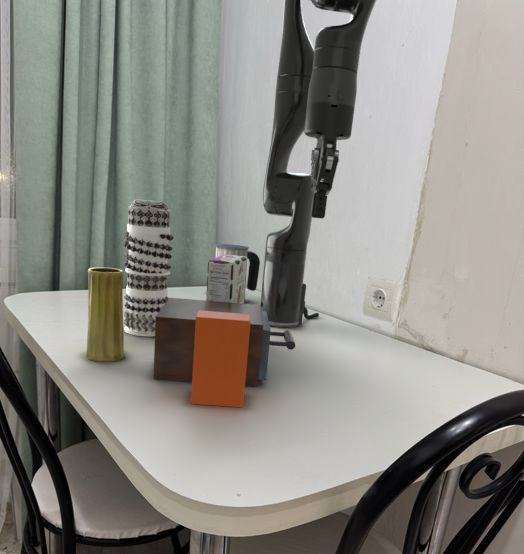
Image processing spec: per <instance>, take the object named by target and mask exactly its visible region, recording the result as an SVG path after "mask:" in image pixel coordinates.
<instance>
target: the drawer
mask: <svg viewBox="0 0 524 554" xmlns="http://www.w3.org/2000/svg"><path fill="white" fill-rule="evenodd" d="M261 314H262V320H263V335H262V345H261V356H260V366H259V377H258V381H259V380H260V381H266V380H267V374H268V373H267V372H268V363H269V353H270V346H272V347H285V348H286V349H287V350H289V351H291V350H294V349H295V348H296V342H295V340H294V337H293V334H292V332H291V331H290V330H288V329H285V330H284V331H283V332H281V331H272V330H271V326H270V325H269V321H268V316H267V312H266V311H261ZM271 336H272V337H283V340H284V341H277V340H271Z"/></svg>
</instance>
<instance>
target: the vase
mask: <svg viewBox="0 0 524 554" xmlns="http://www.w3.org/2000/svg"><path fill="white" fill-rule="evenodd" d="M87 274H88V277H87V279H88V283H87V301H88V302H87V337H86V339H87V340H86V342H87V343H86V352H85V357H86V358H87V359H88V360H90V361H94V362H100V363H101V362H102V363H109V362H116V361H120V360H122V359H124V358H125V357H126V356H125V355H126V354H125V346H124V345H125V335H124V333H125V331H124V300H123V299H124V298H123V296H124V295H123V290H124V289H123V287H124V286H123V285H124V271H123V270H122V269H121V268H115V267H90V268H88V270H87Z"/></svg>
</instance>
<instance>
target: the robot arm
mask: <svg viewBox="0 0 524 554" xmlns="http://www.w3.org/2000/svg"><path fill="white" fill-rule="evenodd" d="M309 1H311V3H312V5H313V6H314V8H316V9H319V10H323V11H327V12H328V11H329V12H335V13H342V14H350V15H351V16H350V19H349V21H348V22H346V23H343V24H336V25H329V26H325V27H322V28H321V29H320V30H319V31H318V32H317V34H316V36H315V41H314V47H313V43H312V42H311V40H310V37H309V35H308V32H307V29H306V28H307V27H306V25H305V22H304V16H303V10H302V0H283V19H282V20H283V21H282V35H281V44H280V51H279V52H280V54H279V61H278V68H277V75H276V86H275V95H274V108H273V109H274V110H273V122H272V131H271V138H270V146H269V152H268V158H267V162H266V163H267V164H266V169H265V175H264V181H263V187H262V204H263V208H264V211H265V212H266V213H267V214H268V215H271V216H278V217H284V218H285V217H286V218H291V219H290V223H289V225H288V226H286V227H284V228H282V229H279V230H277V231H273V232H269V233H267V236H266V240H265V253H264V260H263V261H264V262H263V263H264V264H263V274H262V285H261V295H260V304H259V305H260V308H261V311H266V312H267V316H268V321H269V325H270V327H277V328H295V327H298V326H300V325H301V326H302V324H303V319H304V318H305V319H307V320H312V319H315V318H318V317H319V316H320V313H318V312H315V313H312V314H309V310H308V308H307V307H306V300H305V299H306V291H307V283H304V277H305V271H306V270H305V268H306V260H307V250H308V244H309V239H310V235H311V230H312V229H311V228H312V221H313V219H324V218H325V217H326V212H327V211H326V210H327V204H328V203H327V202H328V196H329V195H330V192H331V191H332V189H333V184H334V180H335V176H336V172H337V167H338V163H339V162H340V159H339V157H340V150H339V149H337V145H338V144H337V141H346V140H348V139H350V138H351V137H352V131H353V123H354V115H355V108H356V101H357V92H358V72H359V65H360V56H361V50H362V44H363V39H364V37H365V32H366V29H367V26H368V23H369V20H370V17H371V15H372V12H373V11H374V7H375V5H376V2H377V0H309ZM303 134H304V135H305V136H306V137H308V138H312V139H316V145H315V147H314V148H313V149H311V155H310V160H311V163H310V165H311V170H310V174H309V173H302V172H301V173H300V172H288V166H289V161H290V158H291V154H292V152H293V150H294V147H295V146H296V144H297V143H298V141H299V139H300V138H301V136H302V135H303ZM303 317H304V318H303Z"/></svg>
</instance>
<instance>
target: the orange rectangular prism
mask: <svg viewBox="0 0 524 554" xmlns="http://www.w3.org/2000/svg"><path fill="white" fill-rule="evenodd" d="M250 323H251V321H250V314H238V313H226V312H214V311H201V310H198V313H197V316H196V323H195V341H194V358H193V376H192V382H191V394H190V395H191V397H190V404H191V405H202V406H219V407H230V408H231V407H233V408H243V407H244V403H245V402H244V401H245V389H246V386H245V379H246V368H247V357H248V345H249V334H250Z"/></svg>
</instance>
